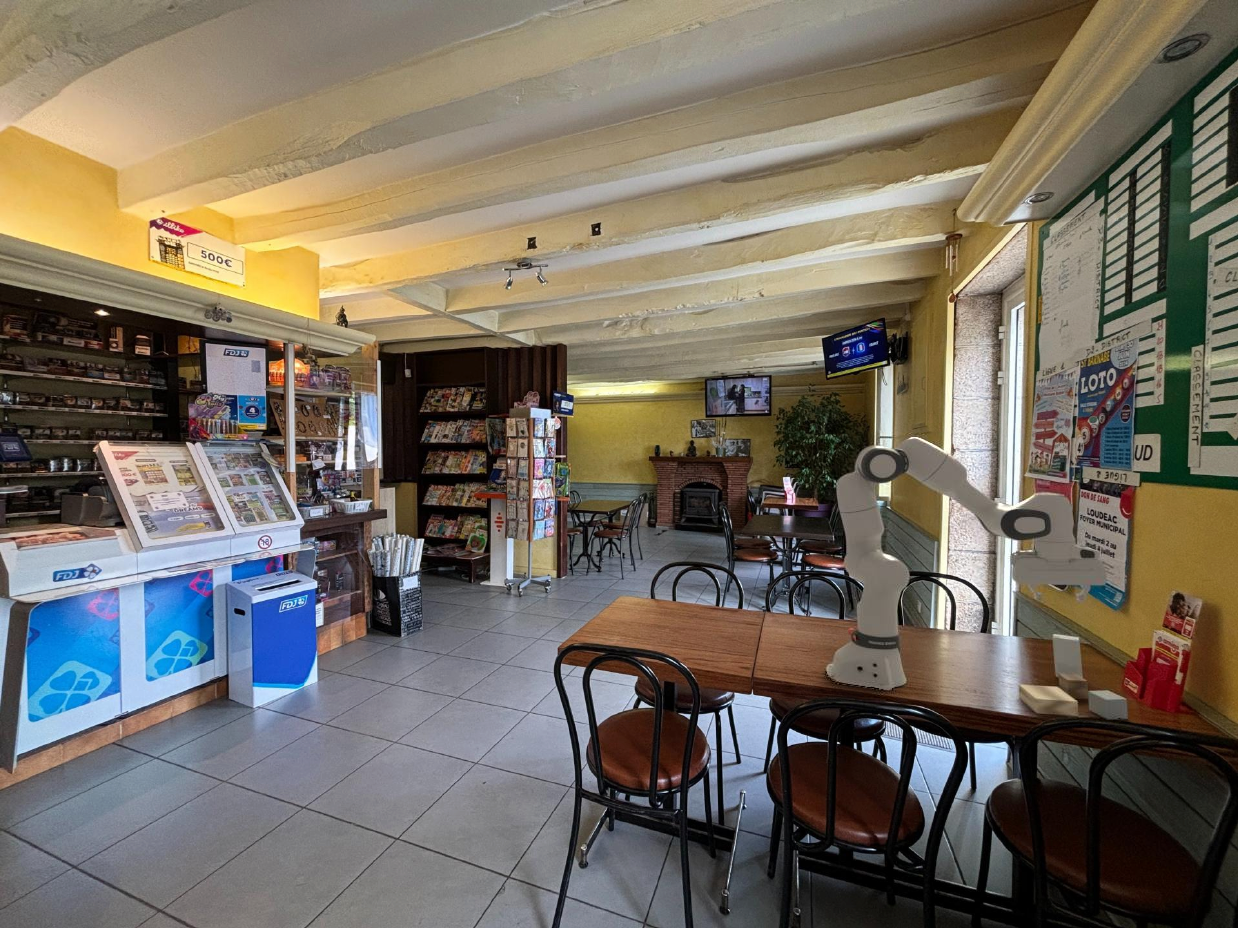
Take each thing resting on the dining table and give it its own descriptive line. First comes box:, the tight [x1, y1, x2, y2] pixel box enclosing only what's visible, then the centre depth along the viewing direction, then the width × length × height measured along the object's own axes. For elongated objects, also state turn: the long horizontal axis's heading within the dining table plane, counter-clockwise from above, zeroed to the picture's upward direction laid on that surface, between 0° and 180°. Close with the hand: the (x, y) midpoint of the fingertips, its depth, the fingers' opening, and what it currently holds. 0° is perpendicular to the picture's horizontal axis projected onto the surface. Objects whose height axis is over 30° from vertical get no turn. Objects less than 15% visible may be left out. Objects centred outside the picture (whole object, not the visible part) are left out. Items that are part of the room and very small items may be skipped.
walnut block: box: [1057, 673, 1089, 700], centre depth 141 cm, size 4×4×5 cm
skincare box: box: [1052, 633, 1084, 678], centre depth 152 cm, size 6×4×12 cm
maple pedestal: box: [1018, 684, 1079, 717], centre depth 135 cm, size 9×9×4 cm
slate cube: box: [1088, 689, 1129, 720], centre depth 129 cm, size 5×5×5 cm
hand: (1059, 600), depth 142 cm, fingers open, 8 cm apart
